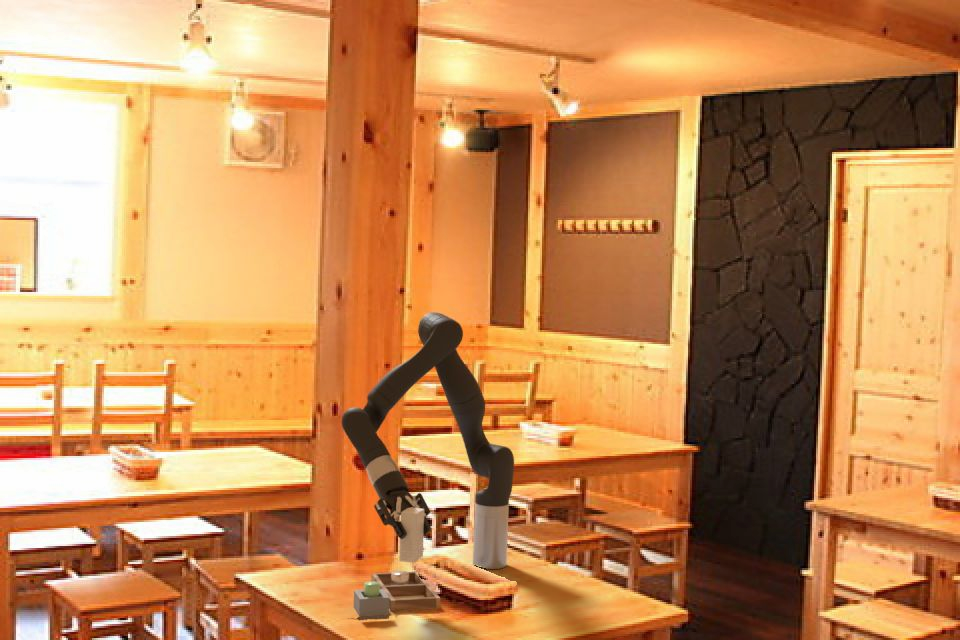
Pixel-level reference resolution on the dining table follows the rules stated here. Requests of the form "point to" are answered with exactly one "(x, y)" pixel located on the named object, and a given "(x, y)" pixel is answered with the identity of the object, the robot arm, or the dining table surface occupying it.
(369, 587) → the button
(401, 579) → the beige rounded cylinder
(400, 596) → the tray
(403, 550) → the skincare box
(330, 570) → the dining table surface
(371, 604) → the grey square open box
